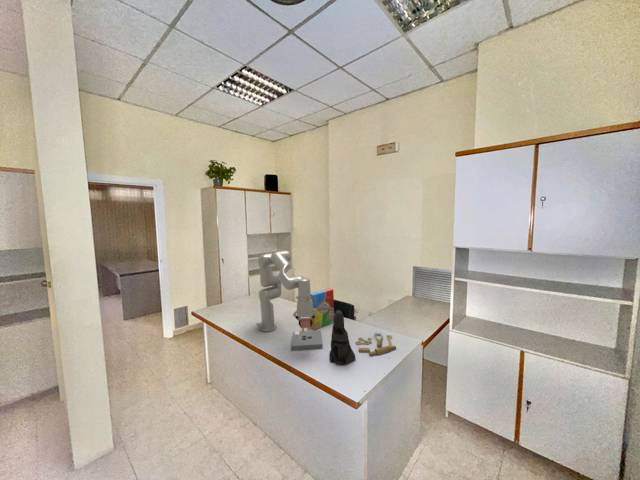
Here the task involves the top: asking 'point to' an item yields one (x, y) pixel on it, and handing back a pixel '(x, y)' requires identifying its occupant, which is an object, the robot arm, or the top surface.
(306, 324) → the pink block
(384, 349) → the toy baking set
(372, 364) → the top surface
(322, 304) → the game box
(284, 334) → the top surface
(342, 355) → the black tall figure
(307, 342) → the socket
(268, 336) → the top surface
